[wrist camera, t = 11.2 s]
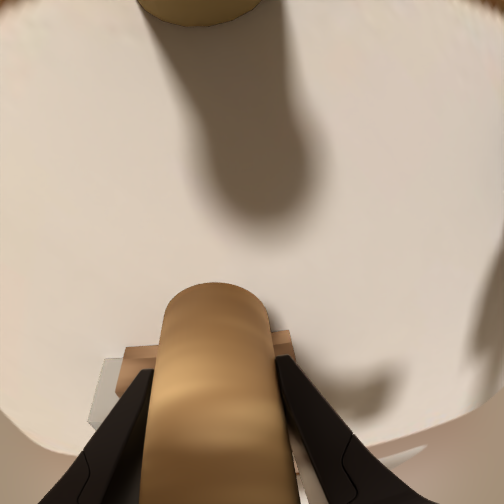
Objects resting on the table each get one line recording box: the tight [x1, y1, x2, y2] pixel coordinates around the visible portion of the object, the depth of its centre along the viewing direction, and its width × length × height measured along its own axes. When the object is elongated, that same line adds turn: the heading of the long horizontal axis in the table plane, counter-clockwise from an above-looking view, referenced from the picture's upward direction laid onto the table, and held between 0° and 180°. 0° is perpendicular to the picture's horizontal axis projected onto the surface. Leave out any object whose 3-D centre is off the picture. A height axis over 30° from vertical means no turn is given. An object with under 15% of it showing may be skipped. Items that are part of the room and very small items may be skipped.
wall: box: [87, 358, 123, 431], centre depth 19 cm, size 2×9×5 cm, turn 6°
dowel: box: [139, 282, 301, 504], centre depth 7 cm, size 4×4×8 cm
